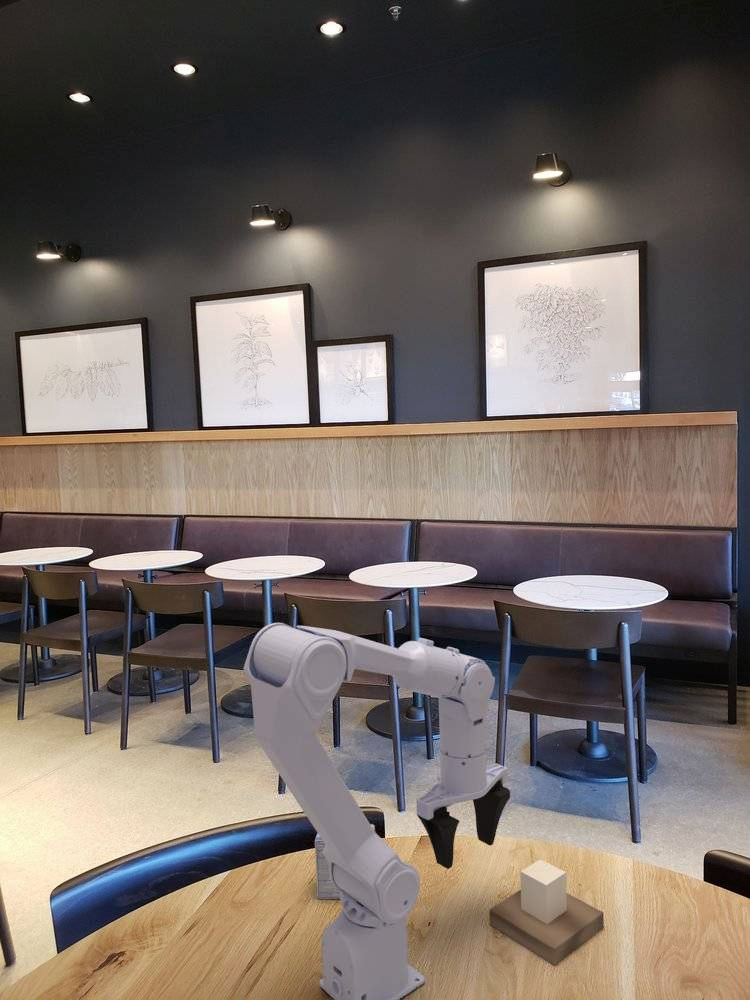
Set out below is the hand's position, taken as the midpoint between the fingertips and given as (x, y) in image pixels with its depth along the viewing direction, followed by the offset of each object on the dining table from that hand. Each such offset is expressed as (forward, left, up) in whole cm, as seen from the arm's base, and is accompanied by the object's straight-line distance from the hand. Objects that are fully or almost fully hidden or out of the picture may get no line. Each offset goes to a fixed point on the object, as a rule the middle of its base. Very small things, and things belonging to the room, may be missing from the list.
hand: (465, 853), depth 93 cm
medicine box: (-7, +16, -10) cm, 20 cm away
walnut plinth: (+7, -7, -9) cm, 14 cm away
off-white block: (+7, -7, -7) cm, 12 cm away
